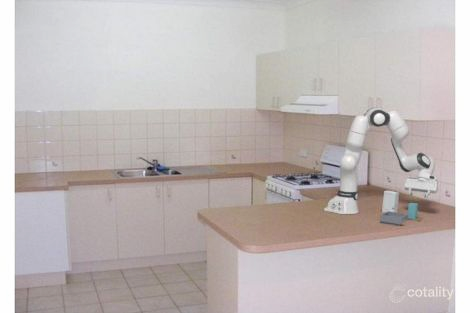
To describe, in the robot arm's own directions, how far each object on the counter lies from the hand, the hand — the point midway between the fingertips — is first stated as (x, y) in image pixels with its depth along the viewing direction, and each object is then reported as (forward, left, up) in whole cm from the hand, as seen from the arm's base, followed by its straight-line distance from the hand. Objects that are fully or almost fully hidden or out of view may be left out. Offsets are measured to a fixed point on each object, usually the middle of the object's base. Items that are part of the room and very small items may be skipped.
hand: (417, 196), depth 330 cm
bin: (-7, -22, -14) cm, 27 cm away
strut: (0, -9, -12) cm, 15 cm away
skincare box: (-17, -1, -14) cm, 22 cm away
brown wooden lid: (0, -9, -14) cm, 16 cm away
